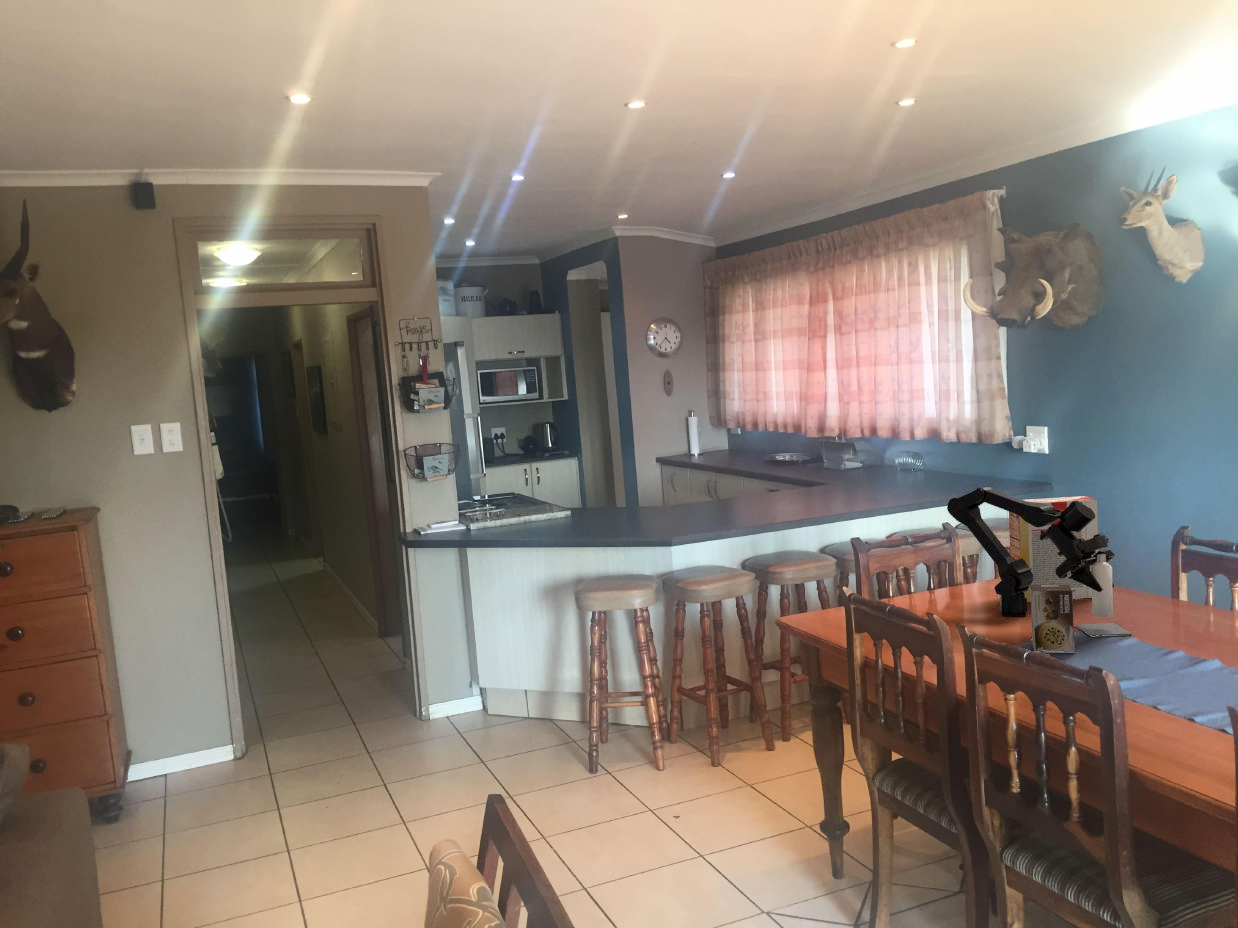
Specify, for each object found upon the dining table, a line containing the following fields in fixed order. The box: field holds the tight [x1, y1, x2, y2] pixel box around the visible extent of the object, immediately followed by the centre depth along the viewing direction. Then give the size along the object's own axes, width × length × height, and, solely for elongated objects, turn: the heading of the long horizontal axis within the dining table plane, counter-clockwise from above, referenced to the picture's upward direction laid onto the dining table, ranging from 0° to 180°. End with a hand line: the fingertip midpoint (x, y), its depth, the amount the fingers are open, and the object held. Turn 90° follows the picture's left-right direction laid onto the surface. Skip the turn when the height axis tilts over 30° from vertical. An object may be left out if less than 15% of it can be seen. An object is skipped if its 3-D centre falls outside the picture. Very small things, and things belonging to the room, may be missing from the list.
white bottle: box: [1091, 554, 1114, 618], centre depth 236 cm, size 5×5×16 cm
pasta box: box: [1008, 495, 1099, 603], centre depth 273 cm, size 23×8×30 cm, turn 88°
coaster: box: [1074, 622, 1133, 637], centre depth 237 cm, size 10×10×1 cm
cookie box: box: [1030, 585, 1076, 654], centre depth 224 cm, size 9×6×16 cm
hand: (1107, 589), depth 235 cm, fingers closed on white bottle, 5 cm apart
